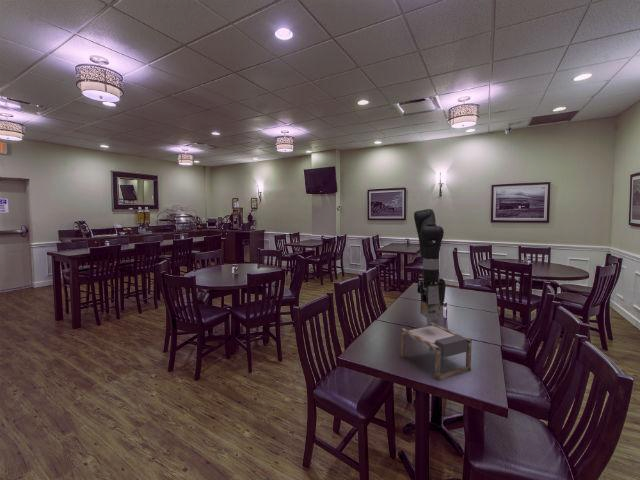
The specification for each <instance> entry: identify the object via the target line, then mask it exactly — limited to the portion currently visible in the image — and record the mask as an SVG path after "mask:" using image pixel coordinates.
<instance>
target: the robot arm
mask: <svg viewBox="0 0 640 480" xmlns="http://www.w3.org/2000/svg"><path fill="white" fill-rule="evenodd" d="M413 217H414V218H413V219H414V222H415V223H414V224H415V228H416V232H417V233H416V234H417V238H418V244H419V253H420V258H421V263H422V278H423V279H422V280H418V281H417V293H418V294H419V295H420V302H421V301H422V302H426V295H425V294H426V290H427V289H426V288H424V285H432V284H438V285H440V286H441V296H440V319H427V318H426V327H428V326H430V323H434V324H436V325H439V326H441V327H443V328H445V316H444V301H445V298H446V297H445V296H446V281H445V280H444V279H443V278H440V247H441V244H442V241H443V238H444V233H445V232H444V228H443V227H442V226H440V225H437V223H436V221H437V220H436V214H435V211H434V210H433V209H431V208H428V209H427V208H426V209H422V210H421V209H420V210H416V211H414V213H413ZM424 290H425V291H424Z"/></svg>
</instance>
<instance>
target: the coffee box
mask: <svg viewBox="0 0 640 480" xmlns="http://www.w3.org/2000/svg"><path fill="white" fill-rule="evenodd" d="M424 288H426V289H427V290H426V294H425V295H426V302H422V301H421V300H420V311H419V312H420V314H421V315H422V316H423V317H424V318H426V320H427V319H440V296H441V286H440V285H438V284H432V285H424ZM424 291H425V290H424Z"/></svg>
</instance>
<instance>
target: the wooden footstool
mask: <svg viewBox="0 0 640 480" xmlns="http://www.w3.org/2000/svg"><path fill="white" fill-rule="evenodd" d="M430 326H435V327H437V328H439V329H442V330H444V331H446V332H448V333H450V334H453V335H455V336H456V335H460V336H462V337H464V338H467V337H465V336H463V335H461V334H459V333H456V332H454V331H451V330H449V329H448V328H445V327H444V328H443V327H441V326H439V325H436V324H434V323H430ZM400 331H401V332H400V333H401V334H400V337H401V338H400V357H401V358H405V357H406V335H407V336H408V337H410V338H412V339H414V340H416V341H417V342H420V343H422V344H424V345H425V346H426V347H428V349H429V350H430V351H434V354H435V355H434V356H435V357H434V380H437V381H440V380H443V379H446V378H449V377H453V376H456V375H459V374H463V373H466V372H469V371H471V369H472V368H471V367H472V343H473V342H472V339H470V338H467V352H465V366H463V367H459V368H454V369H452V370H448V371H445V372H442V373H441V348H440V347H438V346H436V345H435V344H433V343H431V342H429V341H427V340H425V339H423V338H421V337H419V336H417V335H416V334H414V333H412V332H410V331H409V330H408V329H406V328H404V327H403V328H401V329H400Z"/></svg>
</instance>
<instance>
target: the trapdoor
mask: <svg viewBox="0 0 640 480" xmlns="http://www.w3.org/2000/svg"><path fill="white" fill-rule="evenodd" d="M408 331H410V332H412V333H414V334H416V335H417V336H419V337H421V338H423V339H425V340H427V341H429V342H431V343H433V344H435V345H436V346H438V347H440V348H441V357H442V358H443V359H444V358H448V357H452V356H457V355H460V354H463V353H466V352H467V337H466V338H464V337H465V336H463V335H461V334H459V335H456V336H455V335H453V334H450V333H448V332H446V331H444V330H442V329H439V328H437V327H435V326H428V327H427V326H425V327H419V328H415V329H409V330H408ZM460 335H461V336H460ZM462 336H463V337H462Z"/></svg>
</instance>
